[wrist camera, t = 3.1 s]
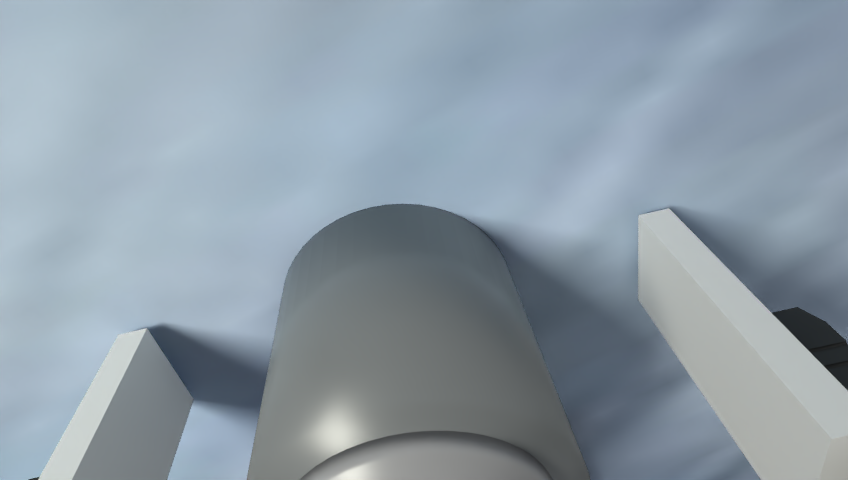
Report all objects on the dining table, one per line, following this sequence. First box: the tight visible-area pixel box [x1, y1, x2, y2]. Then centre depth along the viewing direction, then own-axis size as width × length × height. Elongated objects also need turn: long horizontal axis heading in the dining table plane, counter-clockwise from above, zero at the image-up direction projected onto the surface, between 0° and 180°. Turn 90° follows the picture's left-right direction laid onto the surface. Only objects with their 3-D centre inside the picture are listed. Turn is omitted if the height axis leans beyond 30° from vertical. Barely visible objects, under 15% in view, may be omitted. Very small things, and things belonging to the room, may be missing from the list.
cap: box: [247, 204, 590, 480], centre depth 12 cm, size 6×6×6 cm
